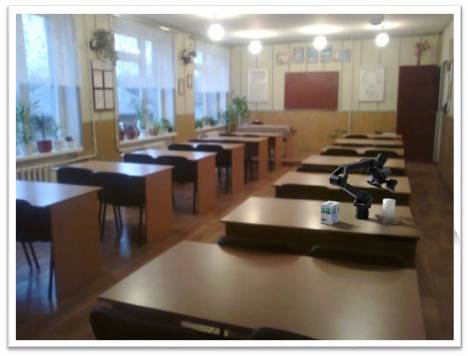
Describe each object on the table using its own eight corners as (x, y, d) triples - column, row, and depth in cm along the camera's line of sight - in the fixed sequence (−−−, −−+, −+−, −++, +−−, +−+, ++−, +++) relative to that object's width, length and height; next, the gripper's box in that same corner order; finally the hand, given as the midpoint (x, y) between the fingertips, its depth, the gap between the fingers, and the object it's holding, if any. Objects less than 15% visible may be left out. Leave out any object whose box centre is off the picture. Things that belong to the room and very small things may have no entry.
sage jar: (379, 217, 244) (380, 199, 242) (385, 215, 248) (386, 198, 246) (390, 219, 239) (391, 202, 237) (396, 217, 243) (397, 200, 241)
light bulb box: (331, 225, 236) (332, 206, 234) (319, 223, 240) (320, 204, 238) (339, 220, 244) (340, 202, 242) (328, 218, 248) (329, 200, 246)
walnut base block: (383, 224, 237) (383, 220, 237) (374, 217, 251) (375, 213, 251) (401, 224, 237) (401, 220, 237) (392, 217, 251) (392, 213, 251)
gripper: (397, 165, 244) (408, 183, 252) (371, 161, 260) (382, 177, 268) (386, 180, 242) (398, 197, 249) (361, 175, 258) (373, 191, 265)
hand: (388, 190), depth 258 cm, fingers open, 9 cm apart
